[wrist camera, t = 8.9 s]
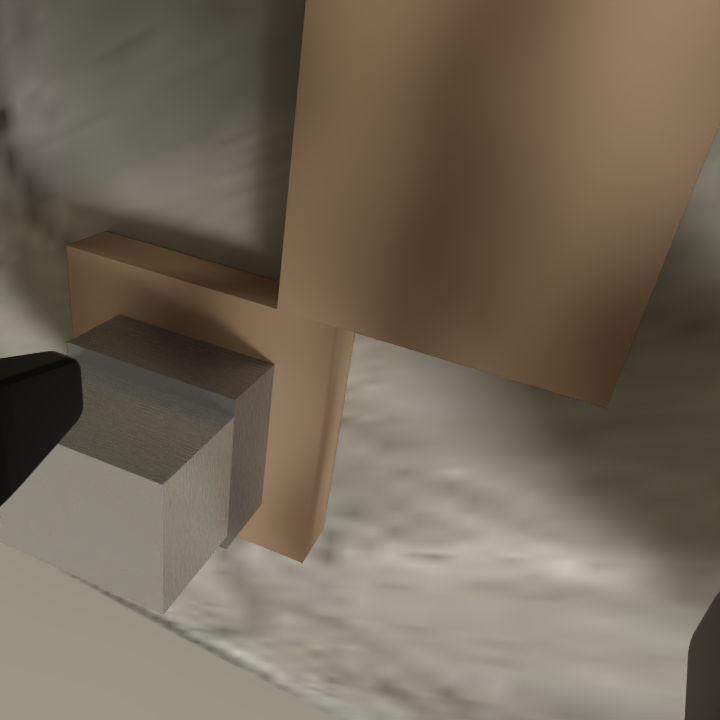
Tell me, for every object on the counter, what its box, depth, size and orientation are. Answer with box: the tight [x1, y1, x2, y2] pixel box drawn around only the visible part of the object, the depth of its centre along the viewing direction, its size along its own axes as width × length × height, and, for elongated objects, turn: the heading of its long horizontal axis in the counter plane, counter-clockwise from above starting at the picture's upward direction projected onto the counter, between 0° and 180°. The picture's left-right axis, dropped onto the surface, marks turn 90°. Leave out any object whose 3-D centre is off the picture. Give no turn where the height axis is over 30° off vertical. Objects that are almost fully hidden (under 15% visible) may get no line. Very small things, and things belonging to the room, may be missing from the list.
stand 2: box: [277, 0, 720, 408], centre depth 17 cm, size 10×10×2 cm
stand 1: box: [66, 231, 355, 563], centre depth 24 cm, size 10×10×2 cm
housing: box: [0, 314, 275, 615], centre depth 20 cm, size 6×6×6 cm
